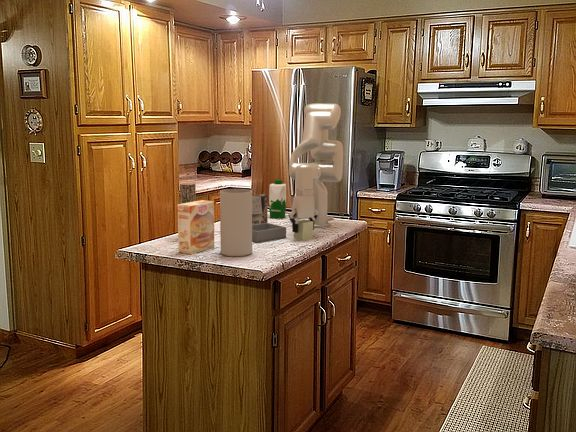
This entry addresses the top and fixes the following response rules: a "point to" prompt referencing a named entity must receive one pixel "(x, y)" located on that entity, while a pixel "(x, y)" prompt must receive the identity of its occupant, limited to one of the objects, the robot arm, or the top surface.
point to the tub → (267, 232)
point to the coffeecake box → (195, 226)
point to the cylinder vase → (236, 222)
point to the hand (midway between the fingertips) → (303, 231)
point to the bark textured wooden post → (187, 192)
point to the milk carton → (277, 200)
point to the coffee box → (259, 209)
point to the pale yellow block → (304, 230)
